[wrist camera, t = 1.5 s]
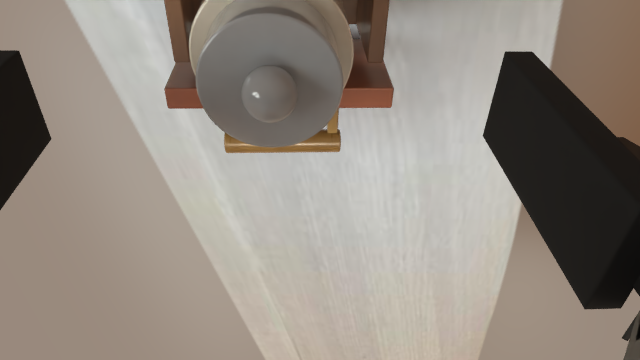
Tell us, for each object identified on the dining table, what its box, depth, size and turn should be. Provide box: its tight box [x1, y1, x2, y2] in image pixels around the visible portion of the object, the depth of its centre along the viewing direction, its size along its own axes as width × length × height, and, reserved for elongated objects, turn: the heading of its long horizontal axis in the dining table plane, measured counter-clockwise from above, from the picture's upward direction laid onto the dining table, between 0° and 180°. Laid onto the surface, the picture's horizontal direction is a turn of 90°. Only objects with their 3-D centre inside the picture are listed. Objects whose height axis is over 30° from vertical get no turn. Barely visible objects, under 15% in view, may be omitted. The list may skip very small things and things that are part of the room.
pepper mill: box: [189, 0, 354, 148], centre depth 20 cm, size 5×5×17 cm
